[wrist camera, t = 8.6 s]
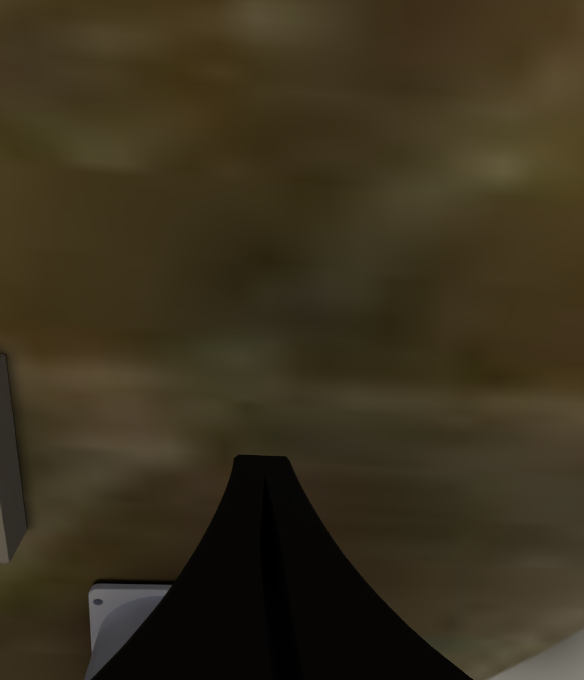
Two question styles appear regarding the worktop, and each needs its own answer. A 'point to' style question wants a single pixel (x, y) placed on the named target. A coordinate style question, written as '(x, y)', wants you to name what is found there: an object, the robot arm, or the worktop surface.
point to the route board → (9, 475)
